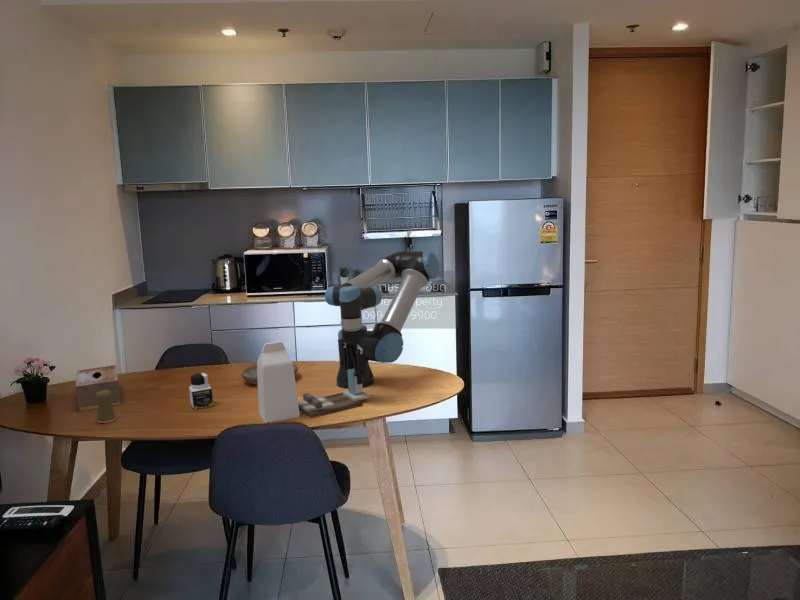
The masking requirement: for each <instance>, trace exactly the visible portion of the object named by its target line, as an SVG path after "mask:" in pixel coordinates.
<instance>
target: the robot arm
mask: <svg viewBox="0 0 800 600" xmlns="http://www.w3.org/2000/svg"><path fill="white" fill-rule="evenodd" d="M439 265H440V263H439V259H438V257H437V254H435V253H434V252H433V251H429V250H428V251H427V250H423V251H421V250H420V251H418V250H417V251H416V250H413V251H412V250H400V251H396V252H394V253H392V254H389V255H387V256H385V257H383V258H381V259H380V260H378V261H377V263H376V265H374V266H372V267H370V268H369V269H366V270H365V271H364V272H361V273H360V274H358V275H357V276H355V277H353V278H351V279H350V280H347V281H346V282H344V283H342V284H341V285H339V286H336V285H334V286H329V287H327V288H326V290H325V292H324V298H325V302H326V303H327V304H328V305H329V306H335V307H339V310H340V322H339V323H340V324H341V329H339V330H338V333H337V345H338V346H337V347H338V357H339V368H338V371H337V375H336V378H335V379H336V386H338V387H339V388H344V389H349V388H348V372H347V370H348V369H352V368H354V369H355V375H354V381H355V393H359V392H364V391H363V389H362V388H365V387H368V386H371V385H373V384H374V382H375V376H374V374H373V372H372V368H371V366H370V361H371V362H378V363H380V364H381V363H382V364H384V363H387V364H389V363H391V364H392V363H394V362H396V361H397V360H398V359H399V357H401V355H402V353H403V349H404V347H403V346H404V339H403V335H402V330H403V328H404V325H405V323H406V320H407V319H408V316H409V314H410V312H411V310H412V308H413V306H414V304H415V302H416V300H417V298H418V297H419V296H418V295H419V294H420V291H421V289H422V288H425V287H426V286H427V285H428V283H429V281H430V280H435V279H436V278H438V275H439V272H440V266H439ZM401 278H402V279H401ZM393 279H401V282H400V284H399V285H398V288H397V289H396V292H395V293H394V295H393V298H392V300H391V301H390V303H389V305H388V308H387V310H386V312H385V314H384V315H383V317H382V319H381V321H378V322H377V323H375V325H374V327H373V328H372V330H368V327H367V325H363V319H362V317H363V316H362V311H363V310H367V309H370V308H375V307H376V306H379V305H380V304H381V302H382V298H383V297H382V296H383V295H382V292H381V291H380V289H379V288H378V287H377V286H379V285H380V284H382V283H384V282H386V281H391V280H393Z"/></svg>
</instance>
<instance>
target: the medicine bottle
mask: <svg viewBox="0 0 800 600" xmlns="http://www.w3.org/2000/svg"><path fill="white" fill-rule="evenodd" d="M188 390H189V391H188V392H189V401H190V406H191V407H192V409H193V408H194V409H193V410H197V409H196V408H199V409H202V408H201V407H205V408H207V407H206V406H210V407H213V406H214V397H213V388H212V387H211V385H210V384H209V377H208V374H207V373H205V372H198V373H194V374H192V375H191V376H190V386H188ZM212 405H213V406H212Z"/></svg>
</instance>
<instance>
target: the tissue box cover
mask: <svg viewBox="0 0 800 600" xmlns="http://www.w3.org/2000/svg"><path fill="white" fill-rule="evenodd" d="M75 377H76V378H75V393H76V400H77V409H79V408H80V407H88V406H95V405H98V401H97V400H96V398H95V395H96V393H97V392H99V391H102V390H109V391H110V392H111V394H112V397H111V403H117V402H121V403H122V401H121V392H120V383H119V375H118V370H117V365H116V364H113V365H107V366H99V367H92V368H86V369H78V370H77V371H76V376H75Z"/></svg>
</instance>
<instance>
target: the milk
mask: <svg viewBox="0 0 800 600" xmlns="http://www.w3.org/2000/svg"><path fill="white" fill-rule="evenodd" d="M293 364H294V363H293V362H292V359H291V357H290V355H289V353H288V351H287V350H286V347H285V344H284V343H283V341H275V342H268V343H264V344H263V347H262V348H261V352H260V354H259V357H258V359H257V361H256V365H257V380H258V384H257V397H258V400H257V401H258V402H257V404H258V414H259V415H260V417H261V419H262V421H263V422H264V424H267V423H266V422H270V423H275V422H279V421H286V420H290V419H296V418H300V417H301V413H300V410H299V406H298V402H299V399H298V392H297V384H296V377H295V375H296V374H295V375H294V368H293Z"/></svg>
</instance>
